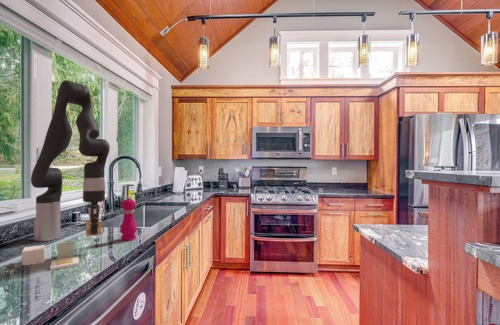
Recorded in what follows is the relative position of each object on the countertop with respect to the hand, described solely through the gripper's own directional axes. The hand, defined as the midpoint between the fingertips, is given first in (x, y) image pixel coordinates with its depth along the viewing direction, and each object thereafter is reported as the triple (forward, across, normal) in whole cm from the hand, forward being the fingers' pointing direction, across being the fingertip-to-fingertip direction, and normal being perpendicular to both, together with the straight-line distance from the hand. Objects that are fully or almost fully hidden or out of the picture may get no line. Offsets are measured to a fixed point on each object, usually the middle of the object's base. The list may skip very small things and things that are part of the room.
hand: (93, 231), depth 108 cm
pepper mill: (+8, +13, -15) cm, 21 cm away
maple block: (+1, 0, 0) cm, 1 cm away
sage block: (+8, 0, +9) cm, 12 cm away
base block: (+8, 0, +18) cm, 20 cm away
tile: (+8, -9, +9) cm, 15 cm away
